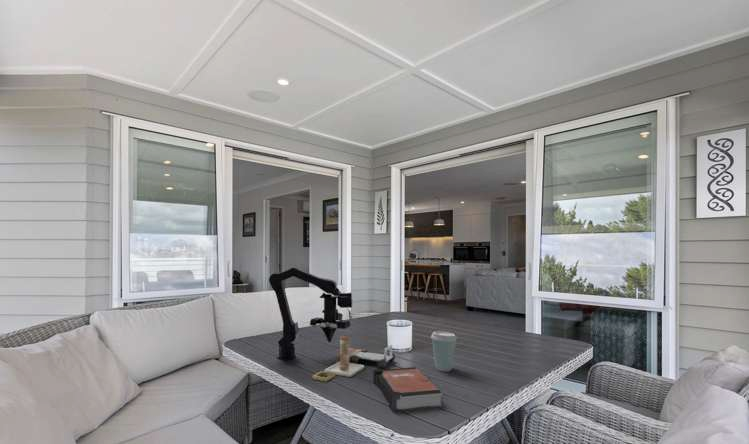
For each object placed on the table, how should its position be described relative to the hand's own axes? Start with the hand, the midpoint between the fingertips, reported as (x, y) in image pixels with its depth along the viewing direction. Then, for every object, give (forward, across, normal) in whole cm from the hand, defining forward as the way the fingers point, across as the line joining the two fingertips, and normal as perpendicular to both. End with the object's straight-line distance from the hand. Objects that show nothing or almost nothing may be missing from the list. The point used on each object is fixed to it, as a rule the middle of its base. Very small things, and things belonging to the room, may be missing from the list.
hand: (329, 341), depth 170 cm
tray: (+7, -15, +12) cm, 21 cm away
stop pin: (+7, -15, +12) cm, 20 cm away
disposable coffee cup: (+7, -52, -6) cm, 53 cm away
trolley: (+7, -21, -2) cm, 22 cm away
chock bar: (+8, -9, -2) cm, 12 cm away
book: (+8, -46, +24) cm, 52 cm away
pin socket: (+7, -12, +23) cm, 27 cm away
